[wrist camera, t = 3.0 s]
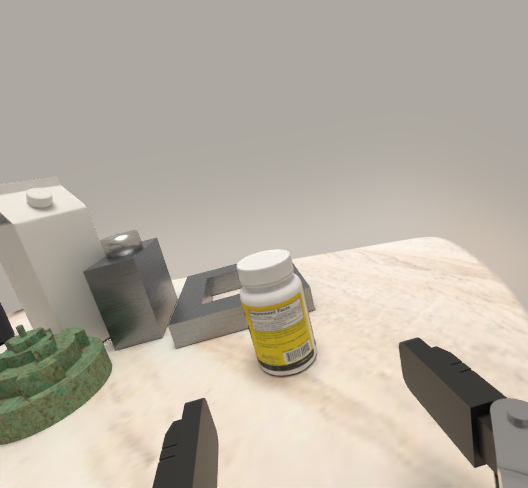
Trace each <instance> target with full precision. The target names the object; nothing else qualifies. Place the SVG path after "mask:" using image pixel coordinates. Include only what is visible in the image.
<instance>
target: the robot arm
mask: <svg viewBox="0 0 528 488" xmlns="http://www.w3.org/2000/svg"><path fill="white" fill-rule="evenodd" d="M399 352H400V359H401V366H402V373H403V377H404V380H405V383H406V385H407V387H408V388H409V390H410V391H411V392H412V394H413V395H414V396H415V397H416V398H417V400H418V401H419V402H420V403H421V404H422V406H423V407H424V408H425V409H426V410H427V412H428V413H429V414H430V415H431V416H432V418H433V419H434V420H435V421H436V422H437V424H438V425H439V426H440V427H441V428H442V430H443V431H444V432H445V433H446V434H447V435H448V437H449V438H450V439H451V440H452V441H453V443H454V444H455V445H456V446H457V447H458V449H459V450H460V451H461V452H462V453H463V455H464V456H465V457H466V458H467V459H468V461H469V462H470V463H471V464H472V465H473V467H474V468H476V467H479V466H482V465H486V464H487V465H488V466H489V467H490V468H491V469H492V470H493V471H494V483H495V488H528V402H525V401H522V400H518V399H511V398H507V397H505V396H504V395H503V394H502V393H500V392H499V391H498V390H497V389H495V388H494V387H493V386H492V385H490V384H489V383H488V382H487V381H485V380H484V379H483V378H482V377H480V376H479V375H478V374H477V373H476V372H474V371H472V370H471V368H469V367H468V366H467V365H466V364H464V363H462V361H461V360H459V359H458V358H457V357H456V356H454V355H453V354H452V353H451V352H448V351H446V350H444V349H441V348H439V347H437V346H436V347H433V348H431V347H430V346H428V345H427V344H426V343H425V342H424V341H423V340H422V339H420V338H414V339H410V340H407V341H403V342H400V343H399ZM159 461H160V462H159V463H158V467H157V471H156V475H155V479H154V483H153V488H217V473H218V436H217V431H216V427H215V425H214V422H213V419H212V416H211V413H210V410H209V407H208V404H207V401H206V399H205V398H202V399H198V400H195V401H191V402H188V403H185V405H184V410H183V415H182V419H181V420H177V421H174V422H173V423H172V425H171V426H170V428H169V430H168V431H167V433H166V434H165V438H164V442H163V446H162V451H161V454H160V459H159Z"/></svg>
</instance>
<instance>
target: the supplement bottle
mask: <svg viewBox="0 0 528 488" xmlns="http://www.w3.org/2000/svg"><path fill="white" fill-rule="evenodd" d="M237 271H238V275H239V280H240V282H241V284H242V285H243V287H242V289H241V292H240V299H241V303H242V306H243V310H244V314H245V317H246V320H247V324H248V328H249V331H250V334H251V338H252V341H253V345H254V348H255V352H256V355H257V359H258V362H259V364H260V366H261V368H262V369H263V370H264V371H266V372H267V373H270V374H273V375H290V374H295V373H298V372H300V371H302V370H304V369H305V368H307V367H308V366H309V365H310V364H311V363H312V362H313V360H314V359H315V356H316V343H315V339H314V335H313V330H312V326H311V322H310V317H309V313H308V309H307V304H306V300H305V295H304V291H303V286H302V282H301V280H300V278H299V277H298V276H297V275H296V274H294V273H293V272H294V269H293V264H292V260H291V256H290V253H289V252H288V251H285V250H267V251H263V252H258V253H255V254H252V255H249V256H247V257H245V258H244V259H242V260H241V261H239V262H238V264H237Z"/></svg>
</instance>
